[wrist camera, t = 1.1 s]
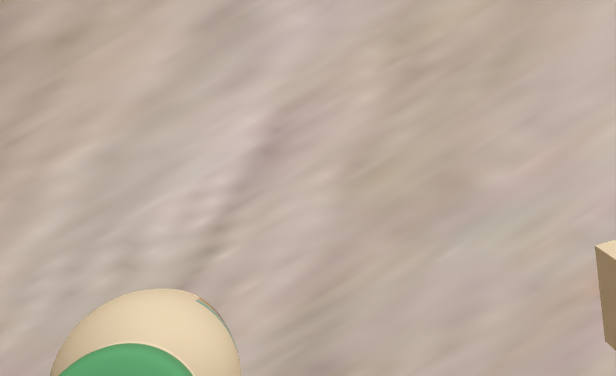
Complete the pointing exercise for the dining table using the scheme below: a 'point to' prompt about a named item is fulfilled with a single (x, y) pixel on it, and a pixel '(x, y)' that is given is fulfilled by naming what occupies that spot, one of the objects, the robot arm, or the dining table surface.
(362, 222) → the dining table surface
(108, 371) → the milk bottle
